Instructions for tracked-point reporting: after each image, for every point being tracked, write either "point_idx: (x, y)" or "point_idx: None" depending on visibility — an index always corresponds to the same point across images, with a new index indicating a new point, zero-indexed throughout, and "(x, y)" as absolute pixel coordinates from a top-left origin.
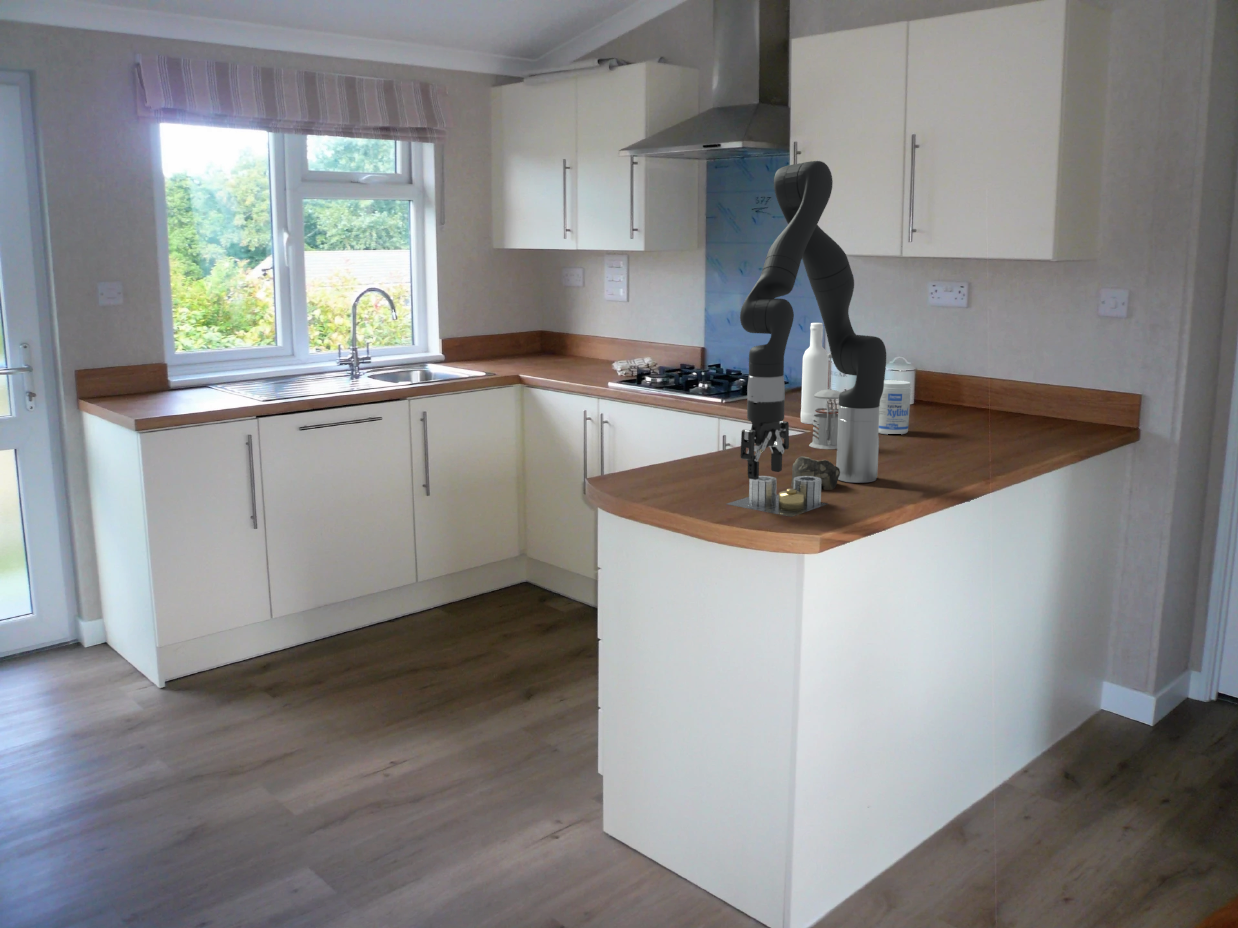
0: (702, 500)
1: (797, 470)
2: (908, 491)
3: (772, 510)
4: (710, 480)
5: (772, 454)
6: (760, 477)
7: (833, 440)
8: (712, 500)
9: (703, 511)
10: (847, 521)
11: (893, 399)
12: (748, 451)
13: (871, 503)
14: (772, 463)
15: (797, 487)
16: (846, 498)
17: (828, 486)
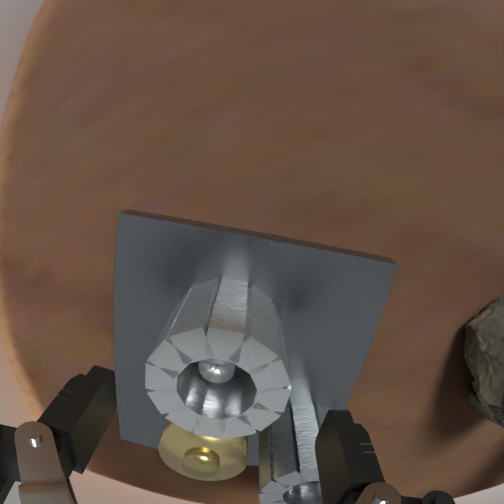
0: (220, 56)
1: None
2: (495, 462)
3: (140, 390)
4: (496, 11)
5: (347, 484)
6: (243, 369)
7: None
8: (241, 89)
9: (69, 153)
10: (220, 498)
11: None
12: (20, 471)
13: (400, 479)
14: (334, 442)
15: (264, 466)
16: (437, 436)
17: (477, 406)
